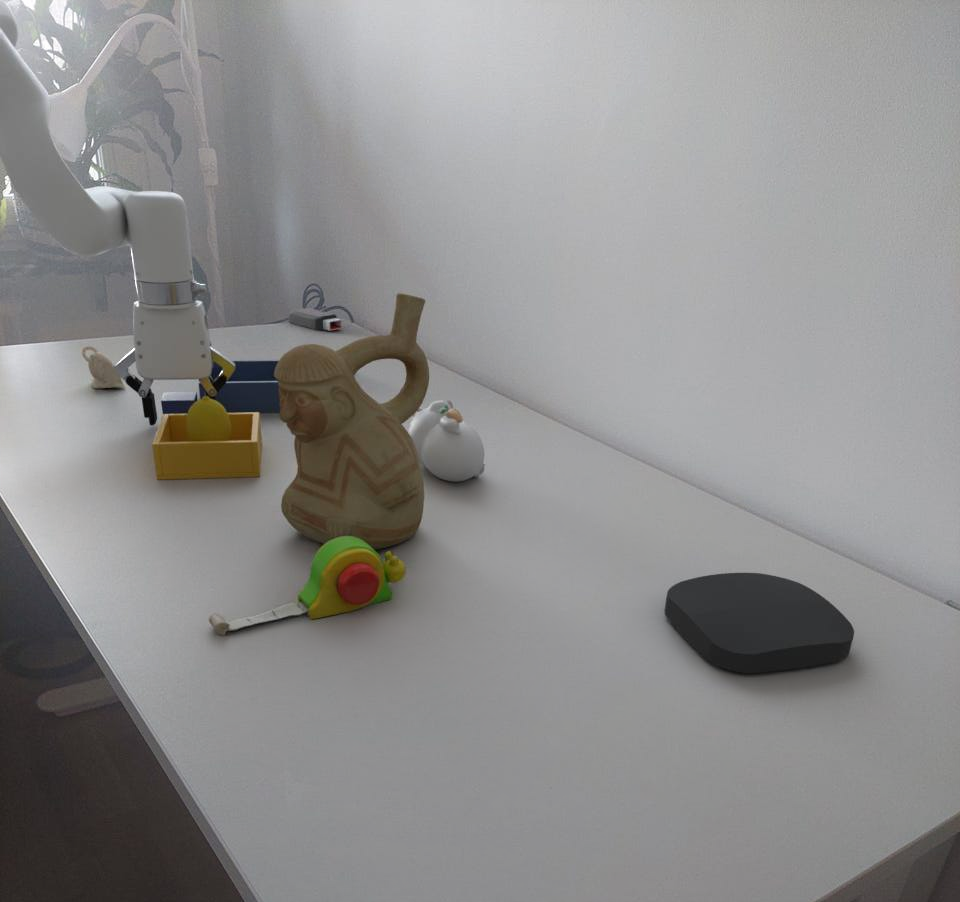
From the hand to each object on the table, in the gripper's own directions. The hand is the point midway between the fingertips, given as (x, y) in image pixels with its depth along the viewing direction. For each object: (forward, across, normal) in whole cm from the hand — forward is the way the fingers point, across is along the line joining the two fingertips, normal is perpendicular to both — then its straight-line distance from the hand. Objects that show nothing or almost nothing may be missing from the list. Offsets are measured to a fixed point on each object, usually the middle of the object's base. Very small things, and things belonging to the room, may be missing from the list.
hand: (182, 421), depth 138 cm
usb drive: (+1, -21, -66) cm, 69 cm away
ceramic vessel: (+1, -23, +40) cm, 46 cm away
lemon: (0, -5, +15) cm, 16 cm away
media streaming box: (+1, -58, +67) cm, 89 cm away
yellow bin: (+1, -5, +15) cm, 16 cm away
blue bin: (+1, -9, -13) cm, 16 cm away
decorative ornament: (+1, +14, -23) cm, 27 cm away
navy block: (+1, 0, 0) cm, 1 cm away
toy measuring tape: (+1, -17, +58) cm, 60 cm away
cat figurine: (+1, -35, +21) cm, 41 cm away
